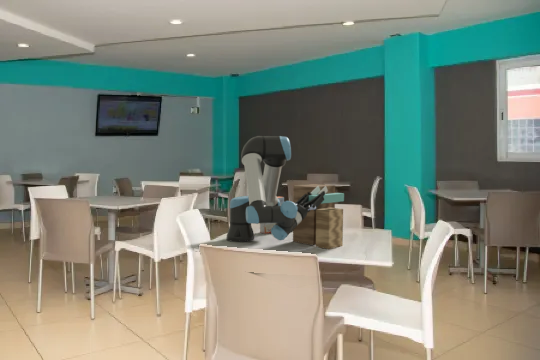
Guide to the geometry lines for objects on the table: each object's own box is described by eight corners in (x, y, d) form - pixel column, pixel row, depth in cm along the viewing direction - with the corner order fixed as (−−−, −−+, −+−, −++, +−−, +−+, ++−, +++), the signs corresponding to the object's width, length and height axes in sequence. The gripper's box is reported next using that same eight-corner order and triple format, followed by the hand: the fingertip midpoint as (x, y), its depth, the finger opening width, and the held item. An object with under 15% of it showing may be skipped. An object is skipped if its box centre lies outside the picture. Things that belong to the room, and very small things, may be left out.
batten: (315, 204, 233) (315, 196, 233) (308, 203, 236) (308, 195, 236) (343, 201, 251) (344, 193, 250) (337, 200, 253) (337, 192, 253)
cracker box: (278, 230, 294) (279, 196, 292) (284, 232, 289) (284, 197, 287) (259, 232, 286) (259, 197, 285) (264, 234, 281) (264, 198, 280)
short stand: (328, 249, 240) (329, 210, 239) (315, 246, 245) (316, 209, 244) (342, 245, 249) (343, 208, 247) (329, 243, 254) (330, 207, 253)
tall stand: (313, 245, 249) (314, 187, 247) (292, 241, 259) (293, 185, 257) (334, 240, 262) (335, 185, 260) (313, 237, 272) (314, 184, 270)
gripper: (285, 220, 234) (311, 193, 248) (312, 223, 222) (339, 195, 236) (279, 207, 231) (307, 181, 245) (307, 210, 219) (334, 182, 233)
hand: (322, 188), depth 240 cm, fingers closed on batten, 4 cm apart
